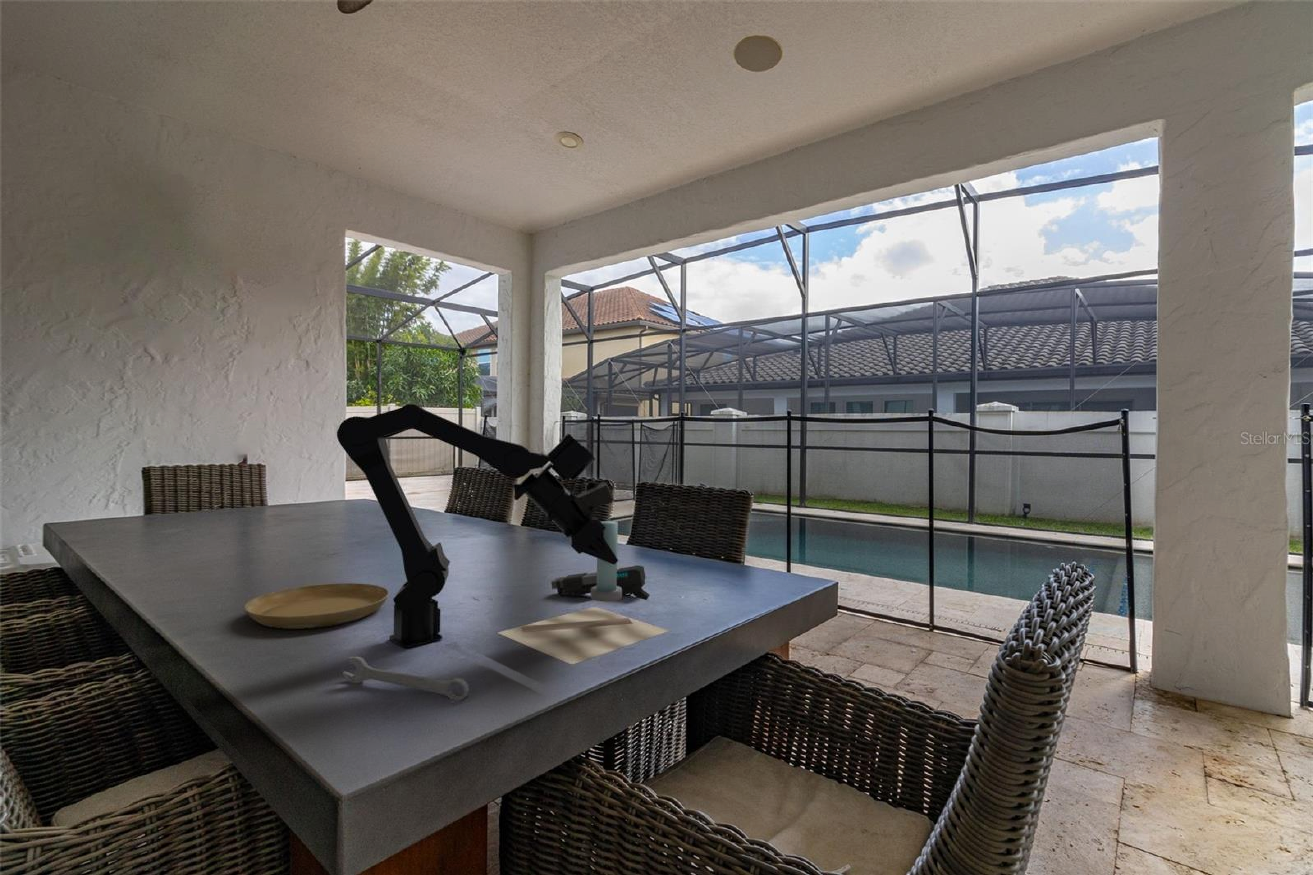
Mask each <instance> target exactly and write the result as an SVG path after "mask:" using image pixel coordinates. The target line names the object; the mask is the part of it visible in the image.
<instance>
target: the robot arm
mask: <svg viewBox="0 0 1313 875" xmlns="http://www.w3.org/2000/svg"><path fill="white" fill-rule="evenodd" d="M412 429H413V430H416V431H418V432H420V433H422V434H424V435H428V436H429V437H432V438H434V439H437V440H439V441H441V442H444V443H445V444H448V445H450V446H453V447H455V448H458V449H460V450H462V451H464V452H466V453H467V452H468V453H469V454H472V455H475V457H478V458H479V459H481V460H482V461H483V462H485V463H486V464H487V465H489V466H490V467H492V468H494V469H495V470H497V471H498V472H500V473H501V474H502V475H505V476H506V477H507V478H511V479H520V478H522V477H525V476H526V475H527V474H529V472H530V471H531V470H536V469H540V468H541V469H542V468H543V469H542V470H541V471H540V472H539V473H538V474H537V475H536V474H534V473H533V472H530V474H529V475H528V476H527V477H526V478H525V479H524V480H522V481H521V483H515V482H514V483H513V484H512V486H513V490H514V495H513V499H514V500H515V501H518V500H519V499H520V498H522V497H523V495H526V497H528V499H530V501H532V503H534V505H535V506H537V507H538V509H540V510H541V511H542V513H544V514H545V515H546V517H547V518H548V520H549V521H550V522H553V523H554V524H555V525H556V526H557V527H558V528H559V529H560V530H561V531H562V534H564V535H565V536H566V538H569V545H570V546H571V548H572V549H573V550H574V551H575V552H576V553H577V554H578V555H580V554H582V553H584V554H585V555H588V556H590V557H594V558H596V559H597V558H599V559H601V560H604V561H606V562H609V563H611V564H616V563H617V564H618V561H619V559H618V556H617V557H616V556H615V554H614V553H613V551H612V550H611V548H610V547H609V545H608V544H607V542H606V541H605V539H604V530H605V528H606V527H605V526H604V525H603V524H602V523H601V522H602V521H601V520H600V519H598V518H597V516H595V514H594V513H593V512H592V511H594V509H597V508H599V507H601V506H603V505H605V504H606V505H608V504H610V503H612V502H614V501H615V499H614V497H613V494H612V492H611V490H610V488H609V485H608V484H607V483H606V482H602V483H599V484H597V483H596V482H594V480H591V481H589V482H587V483H585V484H584V485H585V486H584V487H585V488H584V491H581V493H579V494H577V495H576V494H575V493H573V491H572V490H571V491H569V489H567V488H566V487H565V485H563V484H562V482H560V480H558V478H557V477H555V476H554V474H553V473H552V472H550V469H551V470H553V471H554V472H555V473H556V474H557V475H558V477H560V478H561V479H562V481H563V482H566V481H567V480H568V481H569V480H571V481H572V482H574V481H575V480H576V479H577V478H578V477H579V476H580V475H581V474H582V473H584V471H585V470H587V468H588V467H589V466H590V465H591V464H593V463H594V461H596V458H595V456H594V455H593V454H592V453H591V452H590V451H589V450H588V449H587V448H586V447H585V446H584V445H582V444H581V443H579V442H578V441H577V440H576V438H574V437H573V436H572V435H571V434H570V433H567V434H566V435H565V436H564V437H563V438H561V440H560V442H559V443H558V444H556V446H555V447H554V448H553V449H551V450H550V451H549V452H548V453H547V454H544V453H543V452H541V453H536V452H533V451H532V452H531V451H529V450H528V448H527V447H525V446H524V445H522V444H519V443H514V442H510V441H506V440H502V439H499V438H494V437H489V436H486V435H483V434H481V433H478V432H476V431H474V430H471V429H470V428H467V427H465V426H463V425H461V424H457V423H456V422H454V421H451V420H449V419H446V418H444V417H442V416H440V415H437V414H435V413H432V412H431V411H428V410H426V409H425V408H423V407H422V406H420V405H417V404H413V403H407V404H405V405H402V407H398V408H396V409H393V410H389V411H385V412H383V413H379V414H375V415H372V416H369V417H367V416H350V417H347V418H346V419H344V420H343V421H342V422H341V423H340V424H339V426H338V428H337V431H336V438H337V441H338V443H339V445H340V446H341V448H342V449H343V450H344V451H345V453H346V454H347V456H348V457H349V458H350V459H351V460H352V462H353V463H354V464H355V465H356V466H357V467H358V468H359V470H361V471H362V473H363V474H364V475H365V478H366V479H367V482H368V483H369V485H370V487H371V489H372V490H371V491H372V493H373V494H374V496H375V498H376V500H377V502H378V504H379V506H380V508H381V510H382V513H383V515H384V516H385V519H386V522H387V523H388V525H389V527H390V529H391V532H392V534H393V536H394V537H395V540H396V542H397V543H398V546H399V548H400V551H401V557H402V564H403V569H404V575H405V578H406V582H404V583H403V584H402V586H401V587H400V589H399V590H398V592H397V593H396V594H395V596H394V597H393V634H392V635H389V636H388V637H389V638H388V639H389V640H390V641H392V642H393V643H396V644H398V645H399V646H401V647H403V648H404V649H407V648H412V647H415V646H420V645H424V644H428V643H432V642H436V641H440V640H443V635H441V634H439V633H440V632H441V608H440V607H439V600H436V599H434V597H436V596H438V595H439V594H441V591H442V590H443V589H444V586H445V584H446V582H447V579H448V577H449V573H450V571H449V565H450V563H451V561H450V560H449V559H448V558H447V556H446V555H445V553H444V549H443V544H442V542H438V543H436V544H434V545H432V543H431V542H430V541H429V540H428V538H426V536H425V535H424V532H423V530H422V528H421V526H420V523H419V522H418V520H417V518H416V516H415V514H414V511H413V509H412V507H411V505H410V503H409V500H408V498H407V497H406V495H405V492H404V490H403V488H402V486H401V483H400V482H399V480H398V477H397V474H395V471H394V469H393V467H392V464H391V460H390V455H389V447H388V443H387V439H388V438H390V437H394V436H396V435H398V434H401V433H403V432H406V431H409V430H412ZM549 462H550V463H549ZM548 463H549V464H548Z"/></svg>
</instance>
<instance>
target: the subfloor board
mask: <svg viewBox="0 0 1313 875" xmlns="http://www.w3.org/2000/svg"><path fill="white" fill-rule="evenodd" d="M668 632H671V630H669V629H667V628H663V627H660V626H657V625H654V624H650V623H647V622H644V621H640V620H637V619H636V618H631V617H628V616H625V615H621V614H618V613H615V612H612V611H609V610H605V609H602V608H599V607H596V606H593V607H592V606H591V607H588V608H585V609H582V610H578V611H574V612H571V613H570V612H569V613H567V614H563V615H558V616H555V617H552V618H547V619H544V620H543V619H542V620H540V621H536V622H532V623H528V624H525V625H521V626H517V627H514V628H513V627H512V628H510V629H505V630H502V631H499V632H497V634H498V635H500V636H503V637H505V638H508V639H510V640H513V641H515V642H518V643H520V644H522V645H525V646H527V647H528V648H531V649H534V650H536V651H539V652H541V653H543V654H546V655H548V656H551V657H552V658H554V659H556V660H558V661H559V660H560V661H562V662H564V663H566V664H569V665H570V666H573V665H576V664H578V663H581V662H584V661H587V660H591V659H592V658H596V657H599V656H602V655H605V654H607V653H610V652H613V651H616V650H619V649H621V648H622V649H623V648H625V647H627V646H631V645H633V644H636V643H640V642H642V641H646V640H648V639H651V638H653V637H657V636H659V635H663V634H666V633H668Z"/></svg>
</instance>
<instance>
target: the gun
mask: <svg viewBox="0 0 1313 875" xmlns="http://www.w3.org/2000/svg"><path fill="white" fill-rule="evenodd" d="M646 578H647V577H646V573H645V566H643V565H633V566H628V567H627V566H626V567H620V568H617V585H616V586H619V587H621V588H622V596H623V595H628V596H631V595H632V596H635V598H637V599H641V600H645V601H647V600H648V599H649V598H650V596H651V594H649V593H648V592H647V591H646V590H644V589H643V587H644V586H645V584H646V581H645V580H646ZM550 583H551V584H550V585H551V588H552V590H556V591H557V594H556V595H557V596H558V597H561V596H563V595H570V596H572V597H576V596H578V597H579V596H584V595H587V594H591V588H592V587H594V586H597V571H596V572H589V573H587V572H583V573H575V574H569V575H566V576H561V577H557V578H555V579H553V580H551V582H550Z"/></svg>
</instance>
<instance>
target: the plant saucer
mask: <svg viewBox="0 0 1313 875" xmlns="http://www.w3.org/2000/svg"><path fill="white" fill-rule="evenodd" d="M389 596H390V590H388V589H387V588H385V587H384V586H381V585H378V584H376V585H375V584H371V583H358V582H357V583H356V582H355V583H353V582H342V583H336V582H335V583H323V584H322V583H321V584H313V585H311V584H310V585H305V586H296V587H293V588H285V589H280V590H277V591H273V592H269V593H265V594H262V595H260V596H257V597H255V598H253V599H250V600H249V601H248V602H246V604H245V605H244V610H245V612H246V614H247V615H248V616H249V617H250V618H251V619H252V620H253V621H255V622H257V623H259V624H261V625H262V626H265V627H268V628H272V627H274V628H273V629H280V628H282V629H283V630H301V629H302V630H305V628H308V629H316V628H315V627H319V628H325V627H331V626H337V625H342V623H343V624H346V623H350V622H353V621H357V620H360V619H363V618H365V617H368V616H370V615H371V614H373V613H374V612H377V610H378V609H380V608H381V607H382V606H383V605H384V604H385V603H386V601H387V600H388V597H389Z"/></svg>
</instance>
